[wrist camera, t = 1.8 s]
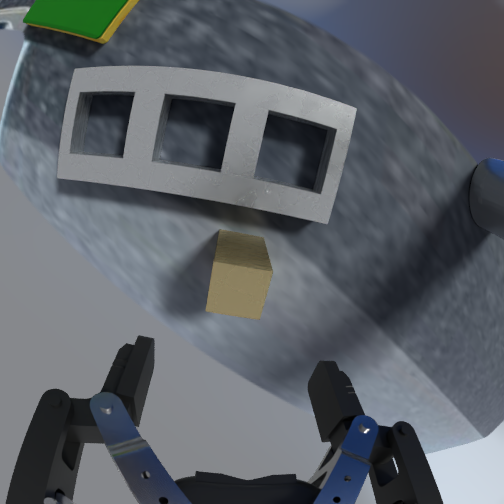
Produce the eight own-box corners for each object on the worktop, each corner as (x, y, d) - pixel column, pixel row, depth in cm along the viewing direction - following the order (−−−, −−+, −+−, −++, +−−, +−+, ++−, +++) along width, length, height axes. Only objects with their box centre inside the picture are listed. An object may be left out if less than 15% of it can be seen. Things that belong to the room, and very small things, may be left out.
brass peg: (263, 237, 25) (272, 271, 18) (254, 276, 26) (259, 319, 20) (219, 229, 24) (213, 261, 18) (212, 269, 26) (205, 311, 19)
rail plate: (345, 111, 21) (356, 108, 19) (319, 216, 24) (327, 224, 22) (87, 73, 18) (74, 68, 15) (71, 174, 21) (57, 178, 19)
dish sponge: (66, -21, 12) (57, -28, 10) (149, -9, 15) (143, -20, 13) (32, 26, 14) (21, 21, 12) (107, 46, 17) (96, 38, 15)
